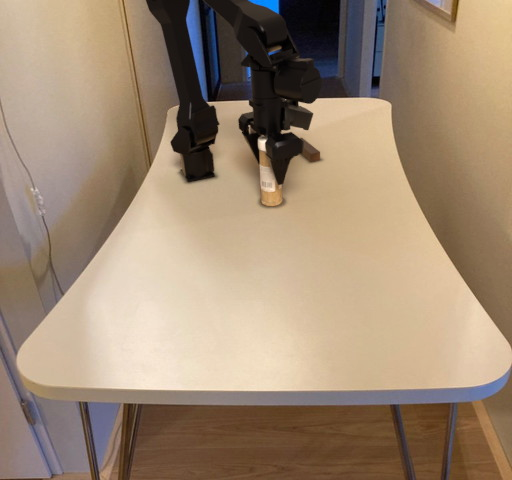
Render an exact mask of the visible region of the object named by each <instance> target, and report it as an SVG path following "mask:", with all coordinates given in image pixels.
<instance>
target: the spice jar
mask: <svg viewBox="0 0 512 480" xmlns="http://www.w3.org/2000/svg"><path fill="white" fill-rule="evenodd" d="M267 139H268V138H267V137H266V136H265V137H262V136H260V137H259V138H258V148H259V157H260V167H259V180H260V181H259V182H260V185H259V186H260V196H261V198H260V203H261V204H262V205H264V206H267V207H275V206H279V205H280V204H282V203H283V190H282V189H283V188H282V187H283V184H282V185H278V184H277V182H276V180H275V178H274V175H273V172H272V170H271V167H270V165H269V162H268V160H267V157H266V155H265V154H266V153H267V152H266V149H265V142H266V140H267Z"/></svg>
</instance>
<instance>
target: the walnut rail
mask: <svg viewBox="0 0 512 480" xmlns="http://www.w3.org/2000/svg"><path fill="white" fill-rule="evenodd" d="M299 138H300V139H301V140H302V141H303V142H304V152H303V153H301V154H300V155H301V156H303V158H305V159H306V160H308V161H309V162H310V163H313V162H318V161H321V151H320V150H319V149H317V148H316V147H315V146H313V145H312V144H311V143H309V142H308V141H307V140H306V139H304V138H303V137H299Z"/></svg>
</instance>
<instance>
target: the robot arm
mask: <svg viewBox="0 0 512 480" xmlns="http://www.w3.org/2000/svg"><path fill="white" fill-rule="evenodd" d="M202 1H203V2H204V3H205V4H206V5H207V6H209V7H210V8H211V9H212V10H213V11H214V12H215V13H216V14H218V15H219V17H221V18H222V19H223V20H224V21H225V22H226V23H227V24H229V25H230V26H231V28H232V29H233V33H234V37H235V40H236V41H237V42H238V43H239V45H240V46H241V47H242V49H244V51H245V52H246V53H247V54H246V56H245V57H244V58H243V59H242V60H241V62H240V66H241V67H244V68H249V72H250V73H249V74H250V75H249V76H250V89H251V98H248V106H249V107H251V108H252V111H250V112H245V113H244V112H243V113H241V115H240V116H239V117H238V119H237V123H238V130H240V131H241V135H242V136H243V138H244V140H245V141H246V143H247V146H248V148H249V149H250V151H251V153H252V155H253V157H254V158H255V161H256V163H257V165H258V167H259V168H260V157H259V148H258V138H259V137H260V136H262V137H265V136H266V137H267V138H268V139H267V140H266V142H265V149H266V152H267V153H266V154H265V155H266V157H267V160H268V162H269V165H270V167H271V170H272V172H273V175H274V178H275V180H276V182H277V184H278V185H282V186H283V184H284V183H285V179H286V175H287V172H288V169H289V166H290V163H291V160H292V159H294V158H295V157H298V156H299V155H302V154H301V153H303V152H304V142H303V141H302V140H301V139H300V138H301V137H299V136H297V135H296V134H295V133H294V132H292V131H291V127H292V128H293V127H294V128H298V129H303V131H309V130H310V126H311V123H312V120H313V116H314V112H312V111H311V110H310V109H308V108H305V107H303V106H302V105H300V104H299V103H301V104H307V105H309V104H313V103H314V102H316V101H317V99H318V97H319V96H320V93H321V91H322V85H323V78H322V77H321V72H320V70H319V69H318V68H317V67H315V59H314V58H309V57H307V58H301V57H300V56H301V53H300V51H299V49H298V47H297V45H296V43H295V41H294V39H293V38H292V36H291V33H290V32H289V30H288V27H287V22H286V20H285V18H284V17H283V16H282V15H281V14H279V13H278V12H276V11H274V10H273V9H271V8H269V7H267V6H265V5H261V4H258V3H254V2H252V1H250V0H202ZM145 2H146V5H147V8H148V11H149V13H150V14H151V15H152V16H153V17H154V18H155V20H156V21H157V22H158V23H159V24H160V27H161V32H162V35H163V40H164V43H165V47H166V53H167V56H168V61H169V64H170V68H171V72H172V77H173V80H174V81H173V82H174V85H175V89H176V93H177V98H178V101H179V102H178V103H179V105H178V109H177V113H176V117H175V119H176V120H175V121H176V128H177V131H176V133H175V135H174V136H173V137H172V139H171V140H170V146H171V148H172V151H173V153H177V154H179V158H180V165H181V169H180V170H179V172H180V173H181V175H182V176H183V177H184V180H186V182H188V183H190V182H194V181H195V182H196V181H200V180H205V179H209V178H215V176H216V174H215V164H214V154H213V152H212V151H211V147H210V146H212V145H216V140H217V136H218V134H219V126H220V121H219V119H218V116H217V108H216V106H215V105H210V104H209V103H208V102H207V101H206V100H205V98H204V95H203V91H202V87H201V81H200V78H199V73H198V69H197V68H198V67H197V64H196V58H195V55H194V50H193V46H192V41H191V36H190V31H189V27H188V21H187V17H188V13H189V9H190V4H191V0H145ZM276 51H277V52H276ZM273 52H274V53H273ZM270 53H272V54H270ZM282 131H284V132H283V133H282ZM286 131H288V132H286Z"/></svg>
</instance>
